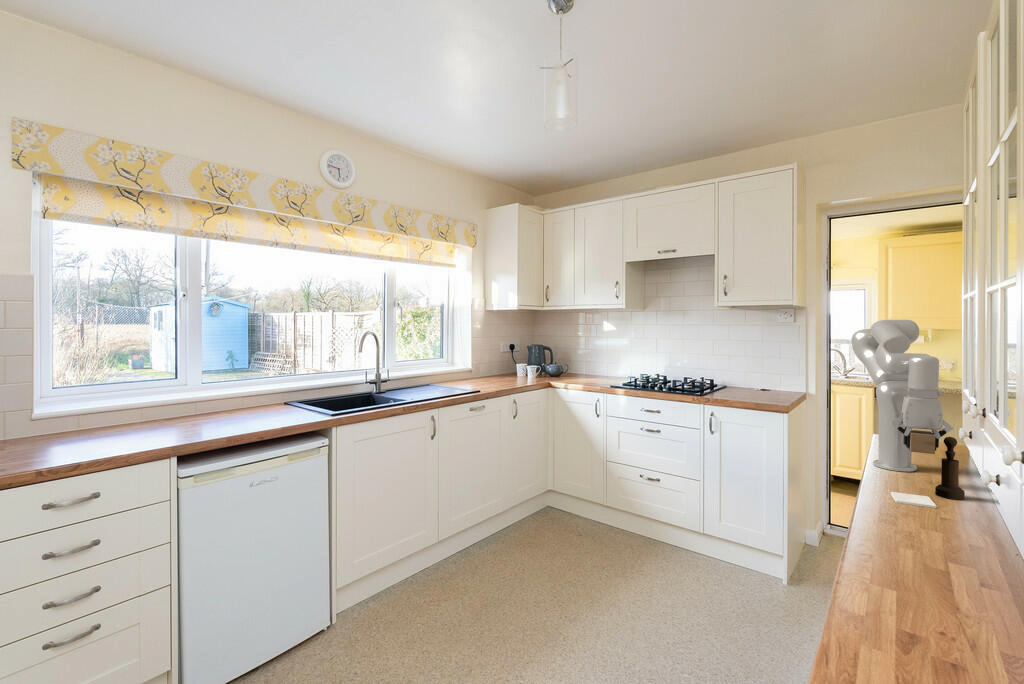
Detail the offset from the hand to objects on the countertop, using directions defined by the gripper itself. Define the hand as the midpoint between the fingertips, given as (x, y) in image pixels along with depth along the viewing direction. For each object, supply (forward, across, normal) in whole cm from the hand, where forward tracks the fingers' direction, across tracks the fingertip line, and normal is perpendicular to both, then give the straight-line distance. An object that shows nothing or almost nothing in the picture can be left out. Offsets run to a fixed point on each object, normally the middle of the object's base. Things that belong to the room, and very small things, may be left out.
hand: (920, 447), depth 159 cm
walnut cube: (+1, 0, 0) cm, 1 cm away
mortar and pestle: (+11, -5, +13) cm, 18 cm away
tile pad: (+11, +6, +23) cm, 26 cm away
